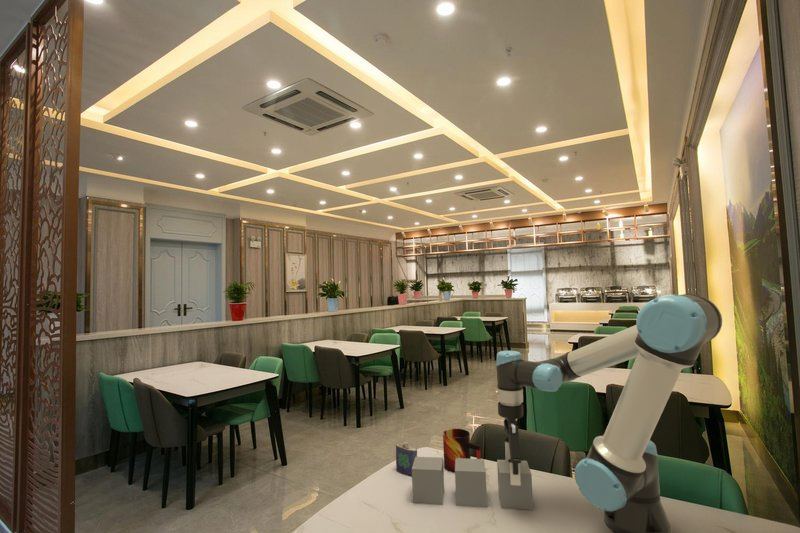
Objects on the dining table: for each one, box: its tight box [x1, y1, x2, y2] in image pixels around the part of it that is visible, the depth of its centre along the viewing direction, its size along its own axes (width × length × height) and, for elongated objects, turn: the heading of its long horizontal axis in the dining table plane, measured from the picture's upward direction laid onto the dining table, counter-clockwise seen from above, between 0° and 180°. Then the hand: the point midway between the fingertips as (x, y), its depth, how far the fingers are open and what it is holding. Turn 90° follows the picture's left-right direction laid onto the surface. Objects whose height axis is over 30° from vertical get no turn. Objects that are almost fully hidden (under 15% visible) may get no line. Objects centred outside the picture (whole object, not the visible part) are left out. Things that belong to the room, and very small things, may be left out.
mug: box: [442, 428, 482, 474], centre depth 141 cm, size 10×14×12 cm
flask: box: [395, 441, 418, 477], centre depth 138 cm, size 9×3×11 cm, turn 50°
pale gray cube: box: [454, 458, 488, 508], centre depth 120 cm, size 9×9×10 cm
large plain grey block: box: [411, 456, 445, 506], centre depth 122 cm, size 9×9×10 cm
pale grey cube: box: [496, 459, 534, 511], centre depth 118 cm, size 9×9×10 cm
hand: (512, 473), depth 118 cm, fingers open, 13 cm apart
